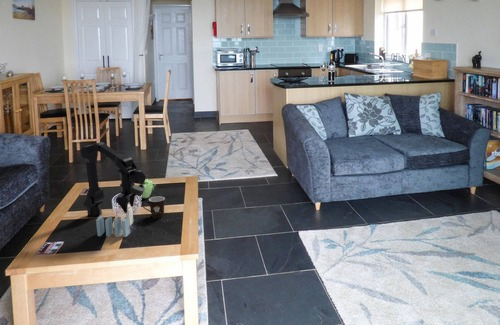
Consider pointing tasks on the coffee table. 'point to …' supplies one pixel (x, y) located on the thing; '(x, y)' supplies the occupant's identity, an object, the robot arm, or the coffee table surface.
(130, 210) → the domino
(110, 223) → the domino
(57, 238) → the coffee table surface
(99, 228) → the domino
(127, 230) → the domino
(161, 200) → the coffee mug
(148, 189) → the green rounded lump
